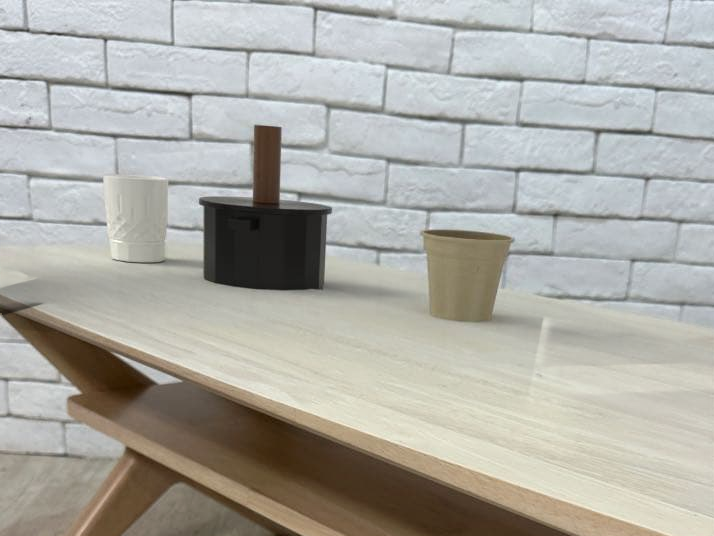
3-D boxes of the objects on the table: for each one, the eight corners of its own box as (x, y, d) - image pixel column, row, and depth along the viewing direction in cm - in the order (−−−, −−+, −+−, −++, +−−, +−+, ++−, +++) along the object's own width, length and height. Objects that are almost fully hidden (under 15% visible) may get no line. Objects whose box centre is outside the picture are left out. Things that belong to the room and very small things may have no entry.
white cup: (181, 262, 128) (181, 180, 124) (127, 264, 122) (125, 178, 119) (146, 254, 133) (145, 175, 129) (93, 256, 127) (90, 173, 123)
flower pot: (437, 330, 96) (445, 238, 93) (399, 313, 104) (405, 227, 101) (521, 330, 100) (532, 241, 97) (478, 313, 108) (487, 230, 105)
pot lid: (178, 211, 106) (178, 118, 103) (224, 204, 120) (224, 122, 116) (313, 224, 104) (317, 129, 101) (344, 216, 118) (348, 132, 115)
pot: (177, 290, 107) (176, 207, 104) (233, 270, 125) (234, 199, 121) (300, 302, 105) (303, 219, 102) (339, 281, 123) (343, 209, 120)
